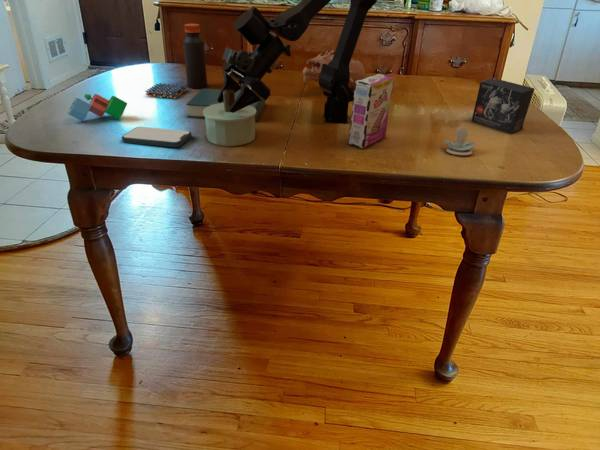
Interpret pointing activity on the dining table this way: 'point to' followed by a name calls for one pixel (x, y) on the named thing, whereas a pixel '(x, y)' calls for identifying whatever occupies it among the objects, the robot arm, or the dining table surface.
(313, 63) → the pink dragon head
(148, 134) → the smartphone
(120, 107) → the building blocks
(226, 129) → the dish
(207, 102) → the book
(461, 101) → the dining table surface
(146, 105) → the dining table surface
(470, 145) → the pacifier
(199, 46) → the bottle
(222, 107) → the cover
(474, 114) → the small box
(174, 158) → the dining table surface
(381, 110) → the candy bar box
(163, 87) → the woven mat
